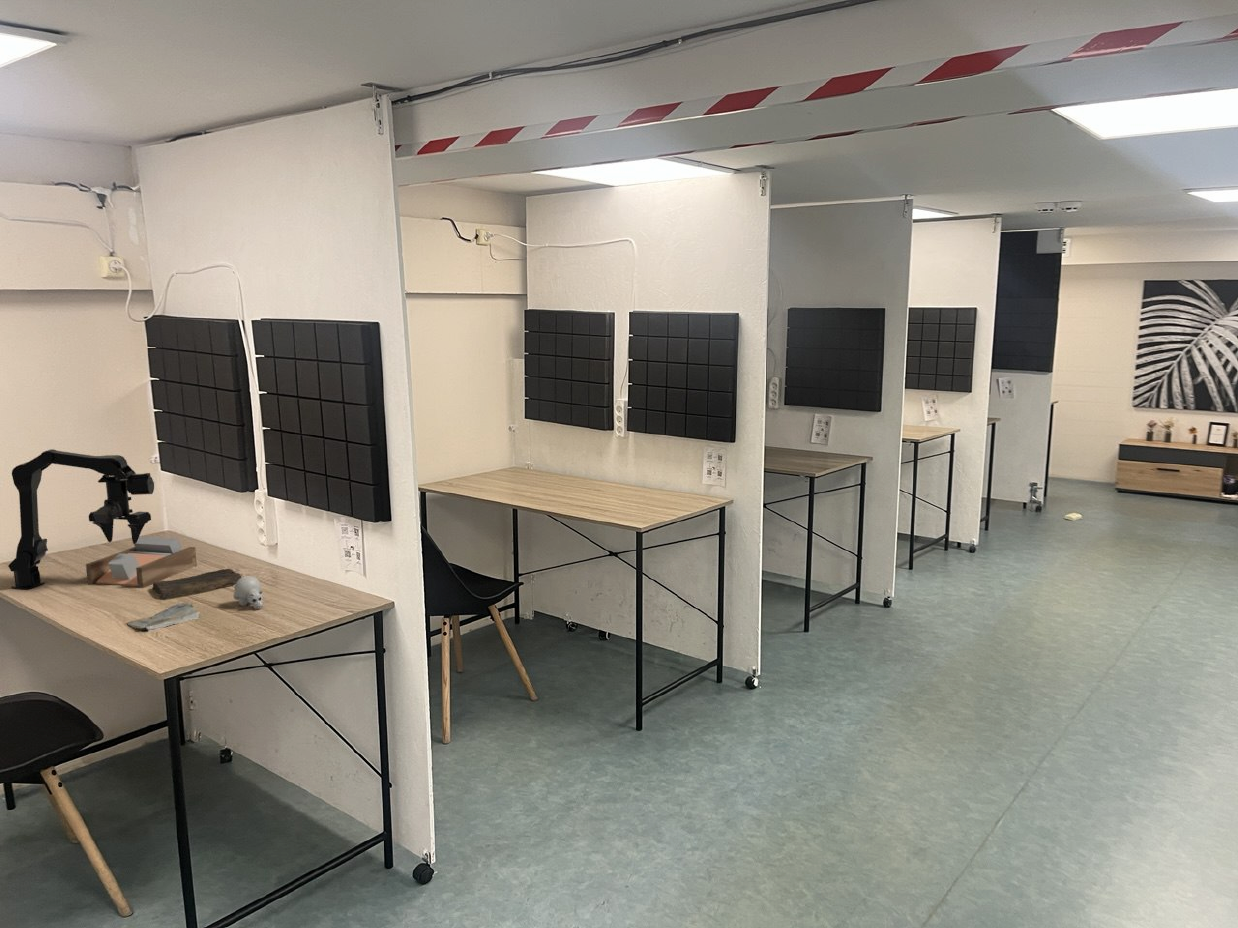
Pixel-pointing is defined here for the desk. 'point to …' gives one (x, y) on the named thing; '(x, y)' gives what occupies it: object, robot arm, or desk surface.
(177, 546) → the trapdoor
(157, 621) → the fossil rock
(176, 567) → the frame
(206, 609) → the desk surface
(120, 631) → the desk surface
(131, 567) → the gray cube
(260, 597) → the chubby cartoon animal
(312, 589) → the desk surface
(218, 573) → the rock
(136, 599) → the desk surface
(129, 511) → the robot arm
